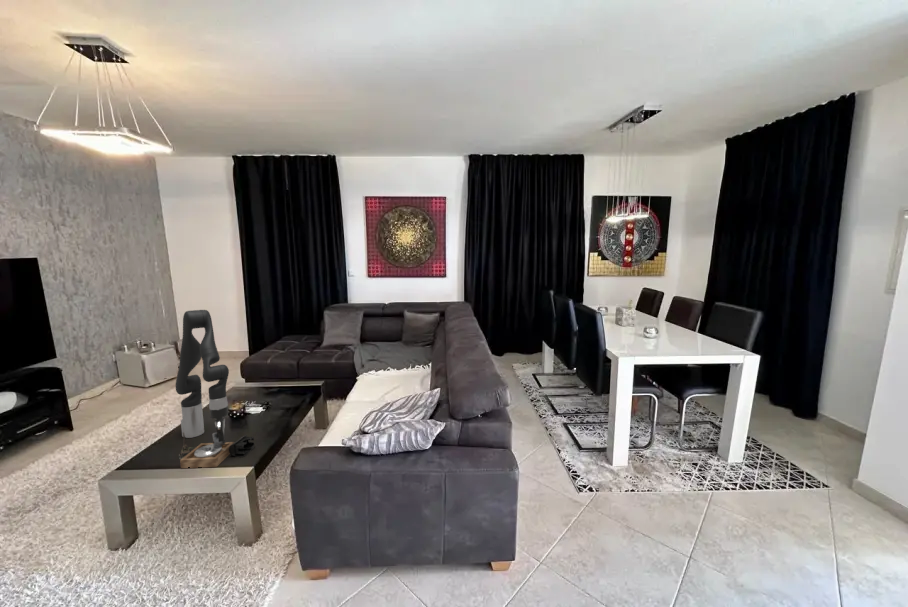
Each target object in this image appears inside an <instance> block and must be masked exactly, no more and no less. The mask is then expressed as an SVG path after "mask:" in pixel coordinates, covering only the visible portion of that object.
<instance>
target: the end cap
mask: <svg viewBox="0 0 908 607" xmlns="http://www.w3.org/2000/svg"><path fill="white" fill-rule="evenodd" d="M251 441H252V442H251ZM254 441H255V437H254V436H247V434H243V435H242V436H241V437H240V438H238V439H237V440H235V442H234V443H233V444H232V445H231V446H230V447H229V452H230V455H231V456H233V457H235V458H243V457H246V456H247V455H248V454H249V453H250V452H251V451H253V450H254V449H255V442H254Z"/></svg>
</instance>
